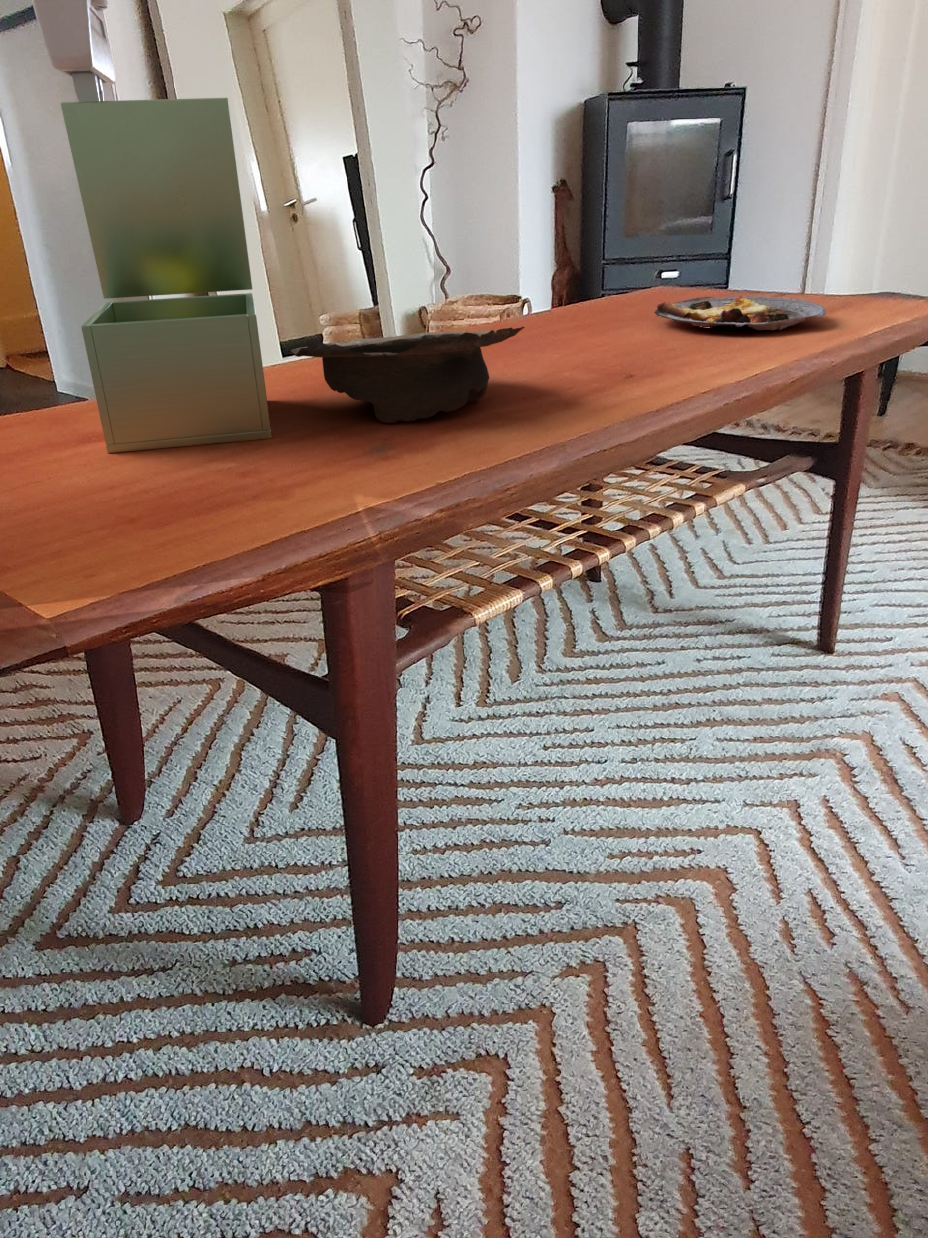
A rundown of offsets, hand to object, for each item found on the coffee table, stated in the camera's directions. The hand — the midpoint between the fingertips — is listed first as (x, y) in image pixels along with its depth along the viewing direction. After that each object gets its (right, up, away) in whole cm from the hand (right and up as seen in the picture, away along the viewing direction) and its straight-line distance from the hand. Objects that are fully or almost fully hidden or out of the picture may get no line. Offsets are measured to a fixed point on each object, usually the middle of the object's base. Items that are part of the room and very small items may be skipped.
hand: (96, 130), depth 94 cm
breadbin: (+9, -29, +5) cm, 30 cm away
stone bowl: (+31, -26, +10) cm, 41 cm away
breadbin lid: (+6, -7, +1) cm, 9 cm away
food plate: (+79, -4, +50) cm, 93 cm away
